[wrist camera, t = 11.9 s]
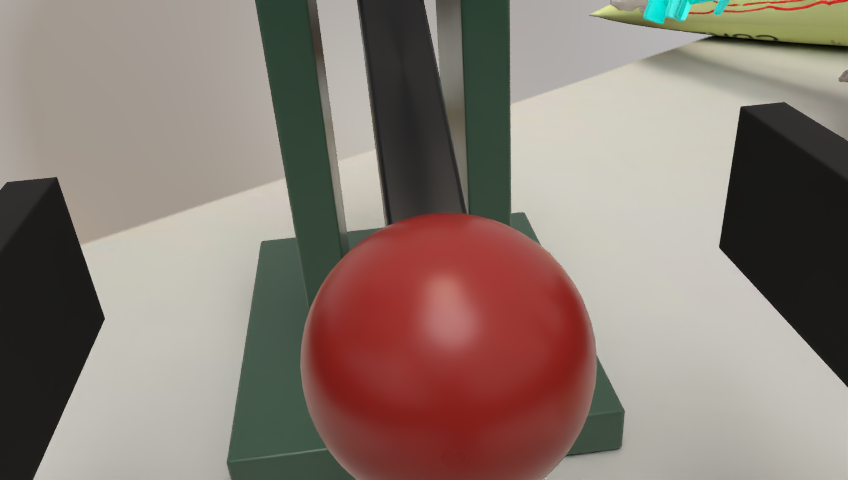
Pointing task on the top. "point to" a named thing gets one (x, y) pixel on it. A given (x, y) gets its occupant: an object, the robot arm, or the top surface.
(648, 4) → the bone model
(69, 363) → the robot arm
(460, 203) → the lever
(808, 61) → the top surface
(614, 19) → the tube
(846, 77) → the bird model
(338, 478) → the bracket
